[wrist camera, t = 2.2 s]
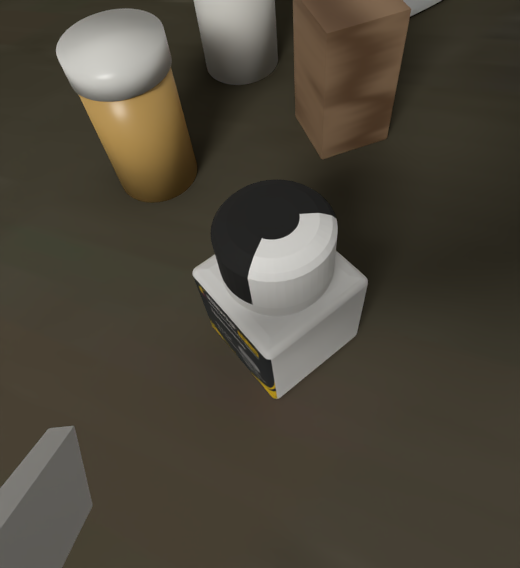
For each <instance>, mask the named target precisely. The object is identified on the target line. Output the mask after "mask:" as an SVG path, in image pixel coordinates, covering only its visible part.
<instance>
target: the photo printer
mask: <svg viewBox="0 0 520 568" xmlns="http://www.w3.org/2000/svg"><path fill="white" fill-rule="evenodd" d="M403 1H404V2H405V3H406V4H407V5H408V6H409V7H410V8H411V13H410V17H411V16H413V15H415V14H417V13H419V12H421V11H423V10H425V9H427V8H429V7H431V6H432V5H434V4H436V3H438V2H440V1H442V0H403Z"/></svg>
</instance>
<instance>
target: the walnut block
mask: <svg viewBox="0 0 520 568" xmlns="http://www.w3.org/2000/svg"><path fill="white" fill-rule="evenodd" d="M410 13H411V8H410V7H409V6H408V5H407V4H406V3H405V2H404V1H403V0H293V28H294V73H295V116H296V118H297V119H298V121H299V122H300V124H301V126H302V127H303V129H304V131H305V132H306V134H307V136H308V137H309V139H310V141H311V142H312V144H313V146H314V147H315V149H316V151H317V152H318V154H319V156H320V157H321V159H325V158H328V157H331V156H334V155H338V154H341V153H344V152H347V151H350V150H353V149H356V148H359V147H362V146H366V145H369V144H372V143H375V142H378V141H381V140H384V139H387V135H388V130H389V125H390V119H391V114H392V109H393V103H394V98H395V93H396V87H397V82H398V77H399V71H400V66H401V61H402V55H403V50H404V45H405V40H406V34H407V29H408V24H409V18H410Z"/></svg>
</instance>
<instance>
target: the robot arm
mask: <svg viewBox="0 0 520 568" xmlns="http://www.w3.org/2000/svg"><path fill="white" fill-rule="evenodd" d="M92 506H93V505H92V501H91V496H90V492H89V488H88V483H87V479H86V475H85V470H84V466H83V462H82V457H81V453H80V449H79V444H78V440H77V436H76V431H75V427H74V426H67V427H58V428H49V429H48V430H47V431H46V432H45V434H44V435H43V436H42V437H41V439H40V440H39V441H38V442H37V444H36V445H35V446H34V447H33V449H32V450H31V451H30V452H29V454H28V455H27V456H26V457H25V458H24V460H23V461H22V462H21V463H20V465H19V466H18V467H17V468H16V470H15V471H14V472H13V473H12V475H11V476H10V477H9V478H8V480H7V481H6V482H5V483H4V484H3V486H2V487H1V488H0V568H62V567H63V565H64V563H65V561H66V558H67V556H68V554H69V552H70V550H71V548H72V546H73V544H74V542H75V540H76V538H77V536H78V534H79V532H80V530H81V528H82V526H83V524H84V522H85V520H86V518H87V516H88V514H89V512H90V510H91V508H92Z"/></svg>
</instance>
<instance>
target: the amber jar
mask: <svg viewBox="0 0 520 568" xmlns="http://www.w3.org/2000/svg"><path fill="white" fill-rule="evenodd" d="M56 55H57V57H58V60H59V62H60V64H61V66H62V68H63V70H64V72H65V74H66V76H67V78H68V80H69V82H70V85H71V86H72V88H73V90H74V91H75V92H76V93H78V94H79V96H80V98H81V100H82V103H83V105H84V107H85V109H86V111H87V113H88V115H89V117H90V119H91V121H92V123H93V126H94V128H95V130H96V132H97V134H98V136H99V138H100V140H101V142H102V144H103V147H104V149H105V151H106V153H107V155H108V157H109V159H110V161H111V163H112V165H113V167H114V170H115V172H116V174H117V176H118V178H119V180H120V182H121V184H122V186H123V188H124V190H125V191H126V193H127V194H128V195H130V196H131V197H133V198H134V199H137V200H139V201H143V202H162V201H166V200H169V199H172V198H174V197H176V196H178V195H180V194H182V193H183V192H184V191H186V190H187V189H188V188H189V187H190V186H191V184H192V183H193V181H194V180H195V177H196V175H197V163H196V159H195V155H194V151H193V148H192V144H191V140H190V137H189V133H188V129H187V125H186V122H185V118H184V114H183V110H182V107H181V103H180V99H179V95H178V92H177V88H176V84H175V81H174V77H173V73H172V69H171V62H172V60H171V54H170V50H169V47H168V43H167V39H166V35H165V31H164V28H163V25H162V23H161V21H160V20H159V19H158V18H157V17H156V16H154V15H152V14H151V13H148V12H146V11H142V10H137V9H113V10H107V11H103V12H99V13H96V14H93V15H91V16H88V17H86V18H84V19H82V20H80V21H79V22H77V23H75V24H74V25H72V26H71V27H70V28H69V29H68V30H67V31H66V32H65V33H64V34H63V35H62V36H61V38H60V39H59V41H58V44H57V47H56Z"/></svg>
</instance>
